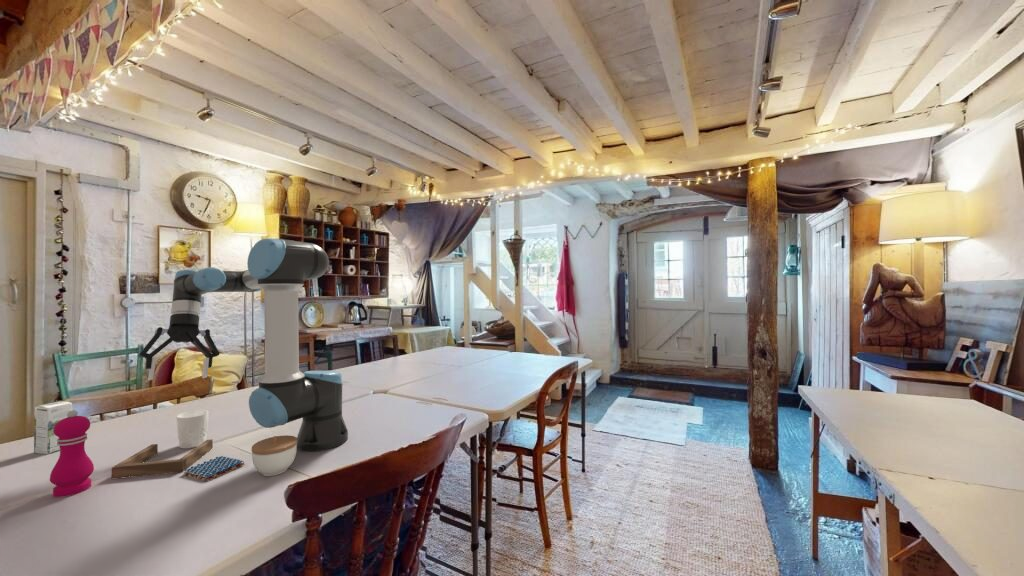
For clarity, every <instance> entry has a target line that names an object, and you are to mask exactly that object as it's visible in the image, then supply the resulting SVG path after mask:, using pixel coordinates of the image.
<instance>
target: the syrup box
mask: <svg viewBox="0 0 1024 576" xmlns="http://www.w3.org/2000/svg"><path fill="white" fill-rule="evenodd" d="M72 410H73V403H72V402H70V401H66V400H65V401H64V400H63V401H62V400H61V401H59V400H58V401H54V402H50V403H45V404H40V405H37V406H34V415H33V416H34V418H33V419H34V421H33V422H34V423H33V425H34V426H33V427H34V428H33V429H34V431H33V435H34V436H33V453H34V454H41V455H42V454H43V455H49V454H52V453H56V452H60V446H58V445H57V439H59V437H57V436H56V435H55V434H54V427H55V425H56V424H57V423H58V422H59V421H60V420H62V419H65V418H67V413H68V412H69V411H72Z"/></svg>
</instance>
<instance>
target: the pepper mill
mask: <svg viewBox="0 0 1024 576" xmlns="http://www.w3.org/2000/svg"><path fill="white" fill-rule="evenodd" d="M78 413H79V412H78V411H77V410H74V409H72V411H69V412H68V413H67V418H65V419H62V420H60V421H59V422H58V423H57V424H56V425H55V427H54V434H55V435H56V436H57V437H59V439H57V445H58V446H60V451H59V457H58V459H57V461H56V463H55V464H54V467H52V470H51V473H50V475H49V482H50V483H51V484H53V485H54V487H53V488H52V497H54V498H64V497H70V496H74V495H77V494H80V493H83V492H85V491H87V490H88V489H90V488H91V486H92V478H90V476H91V475H92V474H93V473H94V471H95V468H94V467H95V465H94V462H93V461H92V460H91V458H90V457H89V455H88V454H87V453H86V450H85V448H86V447H85V444H86V443H85V442H86V440H88V433H86V432H88V430H89V429H90V427H91V421H90V419H89V418H88V417H87V416H83V415H78ZM89 487H90V488H89ZM86 489H87V490H86ZM84 490H85V491H84ZM82 491H83V492H82ZM73 494H74V495H73ZM69 495H70V496H69Z"/></svg>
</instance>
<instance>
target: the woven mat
mask: <svg viewBox="0 0 1024 576" xmlns="http://www.w3.org/2000/svg"><path fill="white" fill-rule="evenodd" d="M245 466H246V464H245V462H244V460H242V459H238V458H234V457H232V458H231V457H229V456H224V455H221V456H216V457H215V458H213V459H212V458H211V459H209V461H206V460H205V461H203V463H198V464H197V465H195V466H192V465H191V466H190V467H189V468H187V469H184V471H183V474H182V476H185V477H188V478H193V479H194V480H200V481H203V482H209V481H211V480H212V481H213V480H214V479H216V478H219V477H222V476H223V475H226V474H228V473H230V472H232V471H235V470H237V469H240V468H242V467H245Z"/></svg>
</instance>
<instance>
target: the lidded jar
mask: <svg viewBox="0 0 1024 576" xmlns="http://www.w3.org/2000/svg"><path fill="white" fill-rule="evenodd" d="M297 449H298V448H297V436H294V435H275V436H272V437H268V438H267V437H266V438H263V439H262V440H258V441H257V442H255V443H254V444H253V445H252V446H251V458H252V464H253V466H254V468H255V469H256V471H257V472H259V473H260V474H261V475H262V476H263V477H273V476H278V475H280V474H283V473H285V472H286V471H287V470H288V469H289V467H291V466H292V464H293V463H294V461H295V458H296V455H297Z"/></svg>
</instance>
